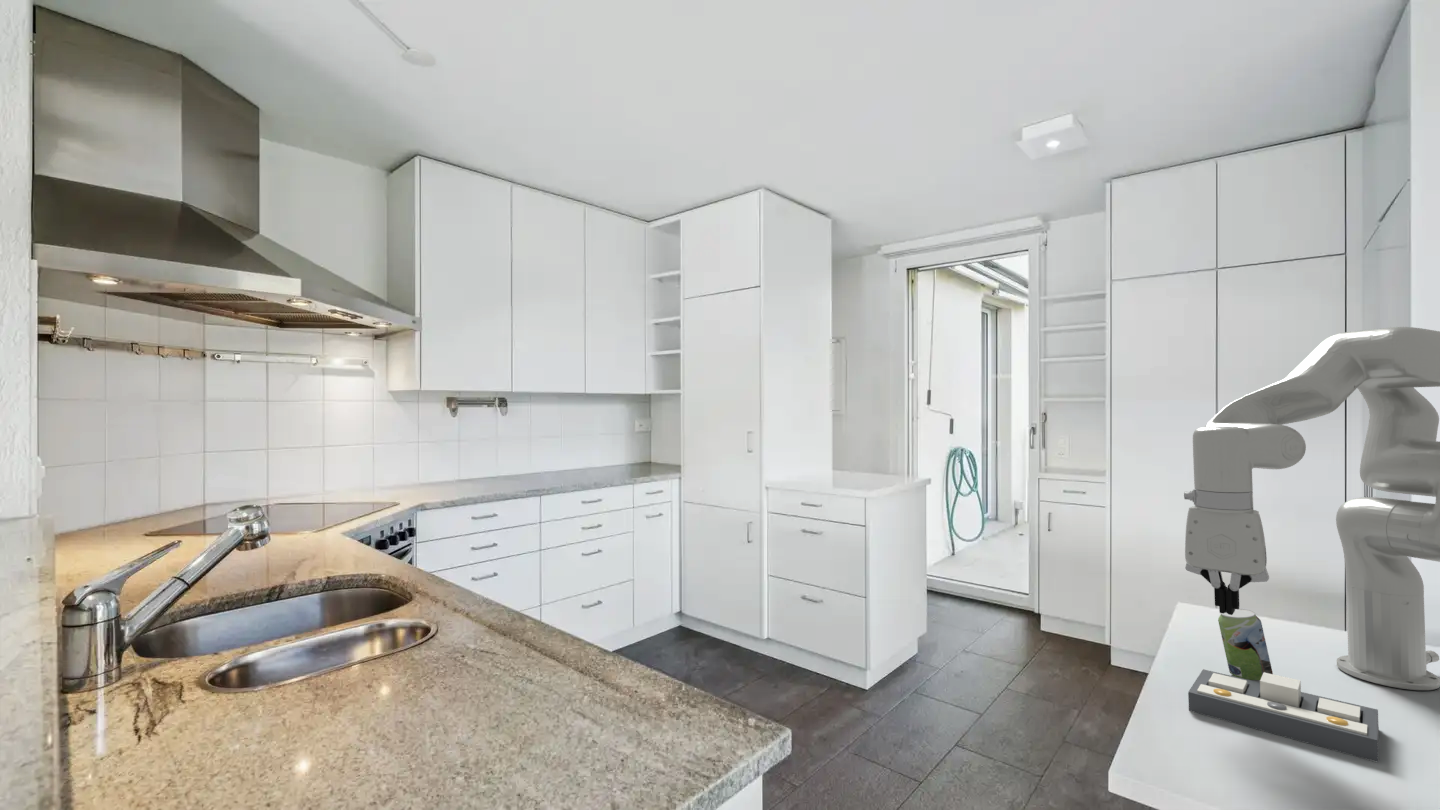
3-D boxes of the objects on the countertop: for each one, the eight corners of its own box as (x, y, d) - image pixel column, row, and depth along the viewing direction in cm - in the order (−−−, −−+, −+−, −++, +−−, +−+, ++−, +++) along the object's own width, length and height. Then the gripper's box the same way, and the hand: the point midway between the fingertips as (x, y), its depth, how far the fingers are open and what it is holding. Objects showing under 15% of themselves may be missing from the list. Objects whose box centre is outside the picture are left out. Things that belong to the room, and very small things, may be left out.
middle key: (1264, 690, 101) (1263, 672, 101) (1301, 699, 98) (1300, 680, 98) (1260, 699, 98) (1259, 680, 98) (1298, 709, 95) (1297, 689, 95)
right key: (1320, 716, 96) (1319, 697, 96) (1360, 727, 93) (1360, 706, 93) (1318, 727, 93) (1317, 707, 93) (1360, 738, 90) (1359, 717, 90)
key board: (1203, 686, 108) (1202, 666, 109) (1378, 729, 93) (1377, 706, 93) (1188, 710, 100) (1188, 688, 100) (1378, 762, 85) (1377, 736, 85)
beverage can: (1281, 687, 107) (1279, 618, 107) (1233, 684, 109) (1231, 616, 109) (1258, 672, 114) (1256, 606, 114) (1212, 669, 115) (1210, 604, 115)
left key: (1213, 690, 106) (1213, 672, 106) (1247, 698, 102) (1247, 680, 102) (1209, 699, 103) (1208, 681, 103) (1243, 708, 99) (1243, 689, 99)
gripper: (1163, 500, 106) (1167, 607, 105) (1281, 508, 95) (1285, 628, 95) (1173, 494, 111) (1177, 597, 111) (1286, 502, 100) (1290, 616, 100)
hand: (1227, 611), depth 103 cm, fingers closed
